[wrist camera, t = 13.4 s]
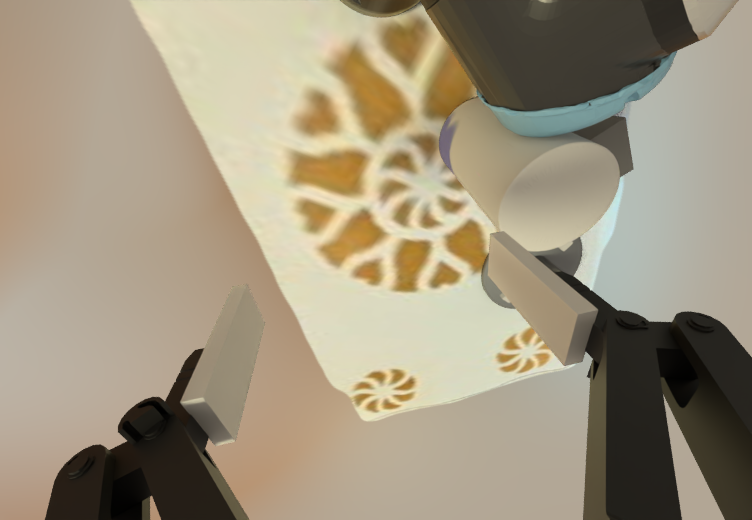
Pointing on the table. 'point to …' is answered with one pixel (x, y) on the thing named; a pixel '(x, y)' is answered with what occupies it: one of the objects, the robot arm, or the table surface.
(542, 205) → the container
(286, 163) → the table surface
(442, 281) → the table surface
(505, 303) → the plate
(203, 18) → the table surface
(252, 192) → the table surface
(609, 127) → the camera body block
